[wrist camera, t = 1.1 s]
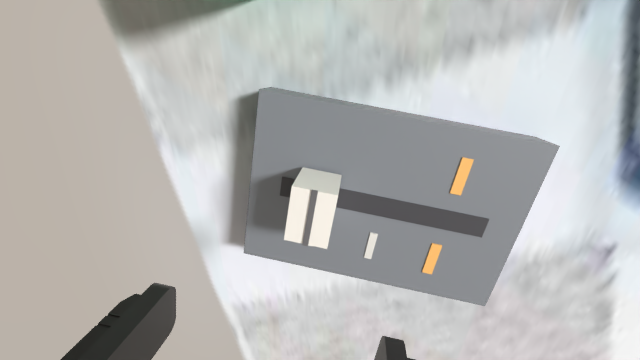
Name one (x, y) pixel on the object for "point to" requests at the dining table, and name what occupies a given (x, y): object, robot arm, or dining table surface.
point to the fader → (312, 207)
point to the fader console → (395, 192)
